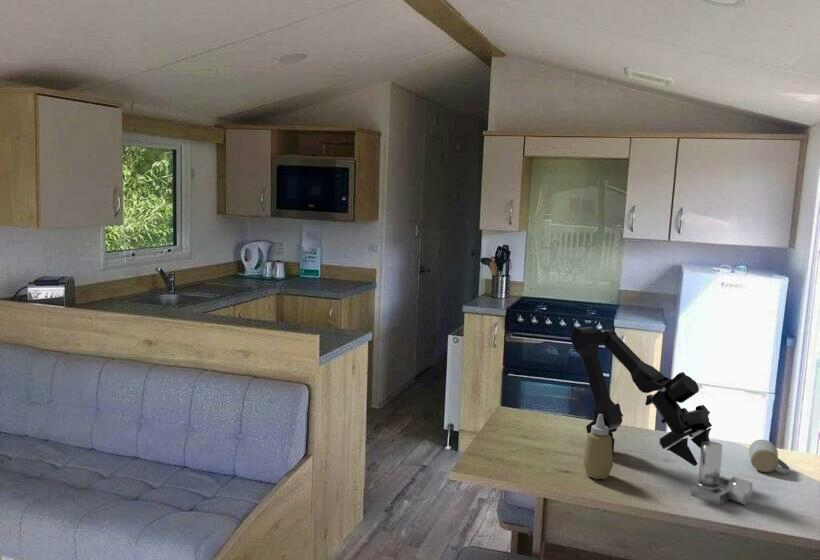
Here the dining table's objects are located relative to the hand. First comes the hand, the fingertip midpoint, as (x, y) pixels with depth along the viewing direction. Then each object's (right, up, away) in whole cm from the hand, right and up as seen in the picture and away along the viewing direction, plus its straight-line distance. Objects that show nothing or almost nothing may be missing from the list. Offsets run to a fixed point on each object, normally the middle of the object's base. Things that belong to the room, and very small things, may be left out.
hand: (704, 461), depth 184 cm
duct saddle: (+4, -8, -4) cm, 10 cm away
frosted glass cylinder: (+1, -8, 0) cm, 8 cm away
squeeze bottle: (-27, -6, +8) cm, 29 cm away
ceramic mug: (+25, -7, +15) cm, 31 cm away
